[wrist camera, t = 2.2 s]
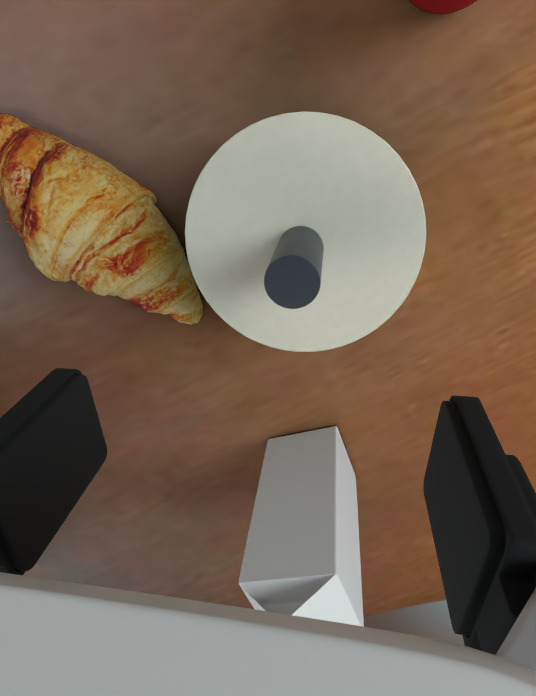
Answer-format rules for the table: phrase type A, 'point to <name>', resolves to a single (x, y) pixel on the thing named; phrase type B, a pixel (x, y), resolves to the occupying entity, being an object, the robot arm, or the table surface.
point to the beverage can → (442, 5)
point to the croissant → (92, 223)
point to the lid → (305, 231)
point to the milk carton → (305, 531)
